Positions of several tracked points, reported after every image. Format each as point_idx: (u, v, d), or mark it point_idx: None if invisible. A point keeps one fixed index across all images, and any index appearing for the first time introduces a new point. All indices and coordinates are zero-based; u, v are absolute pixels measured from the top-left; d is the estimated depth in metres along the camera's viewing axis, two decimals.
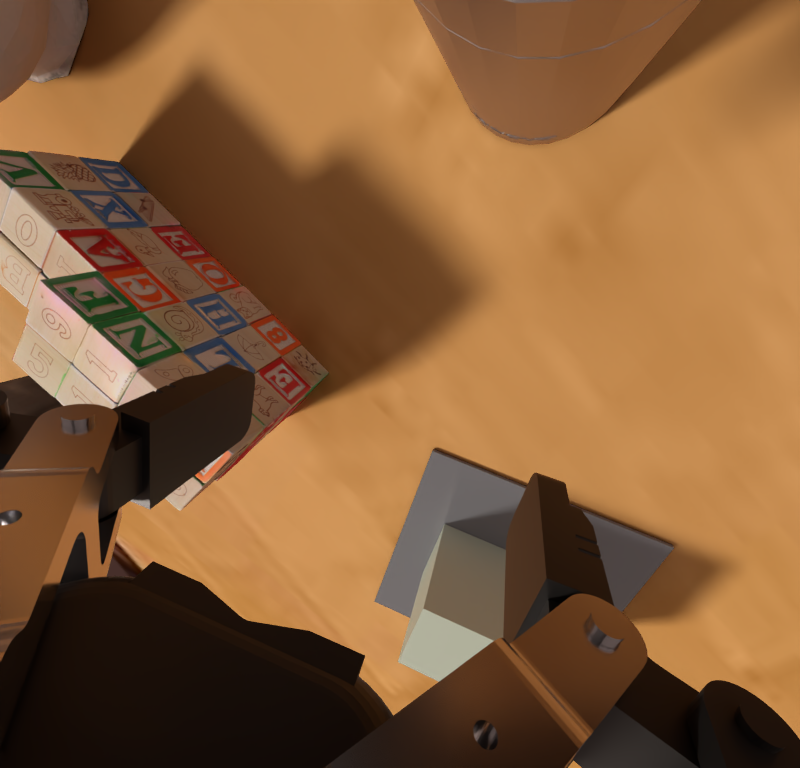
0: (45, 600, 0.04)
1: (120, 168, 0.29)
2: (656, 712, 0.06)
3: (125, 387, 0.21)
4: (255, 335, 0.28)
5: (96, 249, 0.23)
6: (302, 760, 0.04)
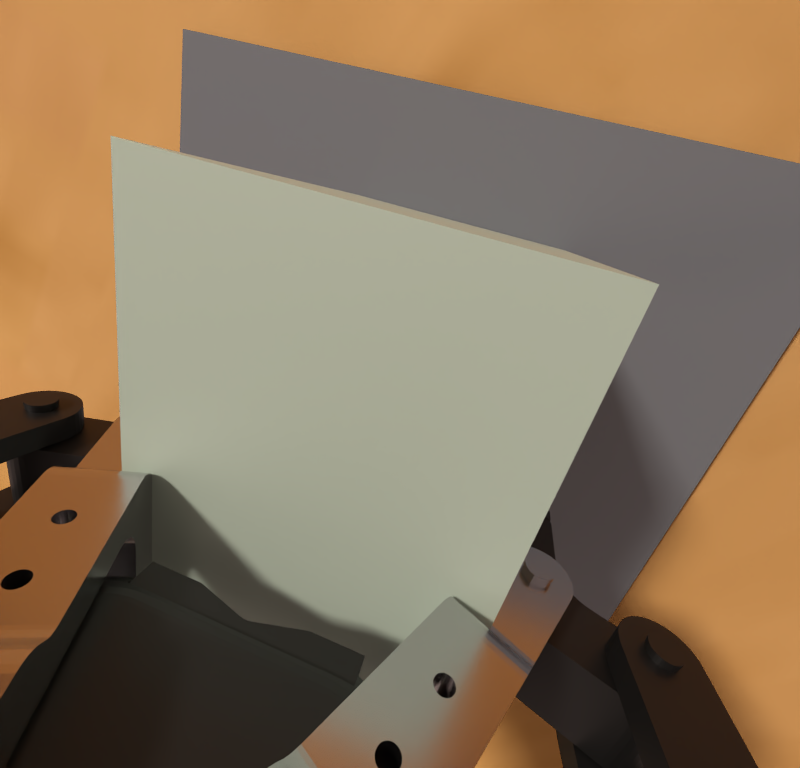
0: (79, 607, 0.04)
1: None
2: (578, 643, 0.06)
3: None
4: None
5: None
6: None
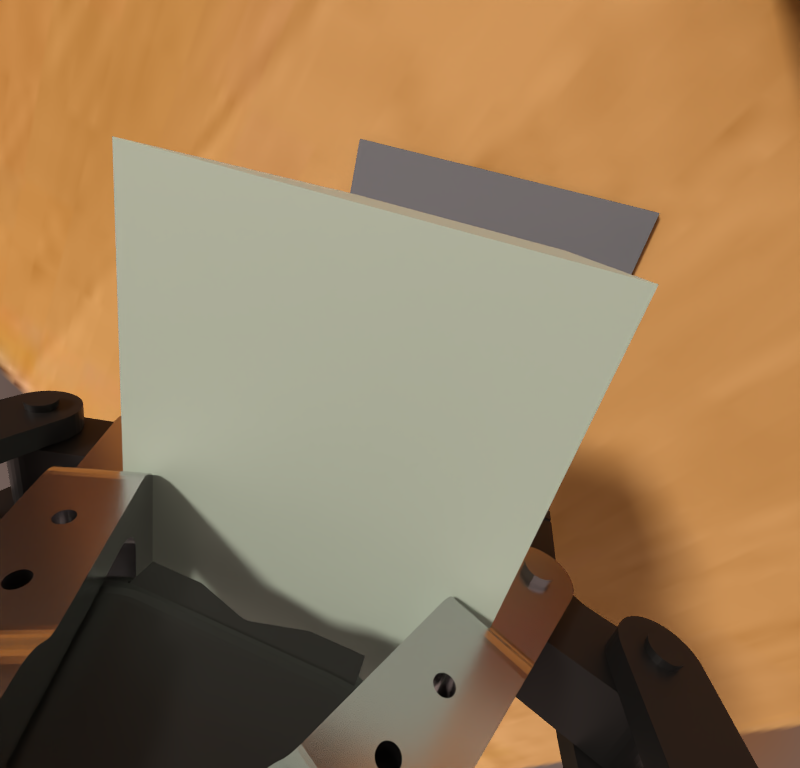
0: (79, 607, 0.04)
1: None
2: (578, 644, 0.06)
3: None
4: None
5: None
6: None
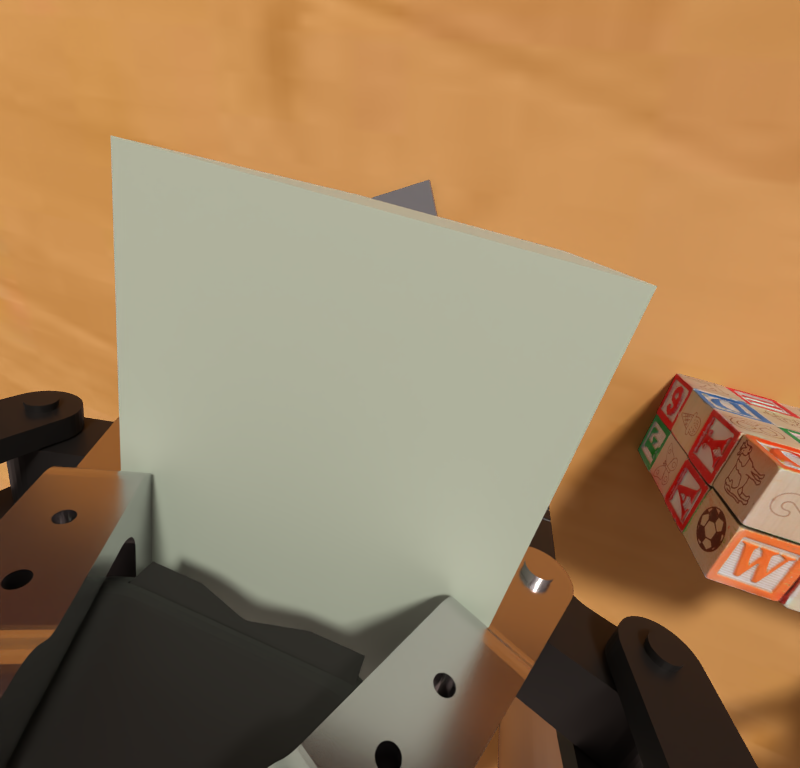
0: (79, 607, 0.04)
1: None
2: (578, 644, 0.06)
3: None
4: None
5: None
6: None
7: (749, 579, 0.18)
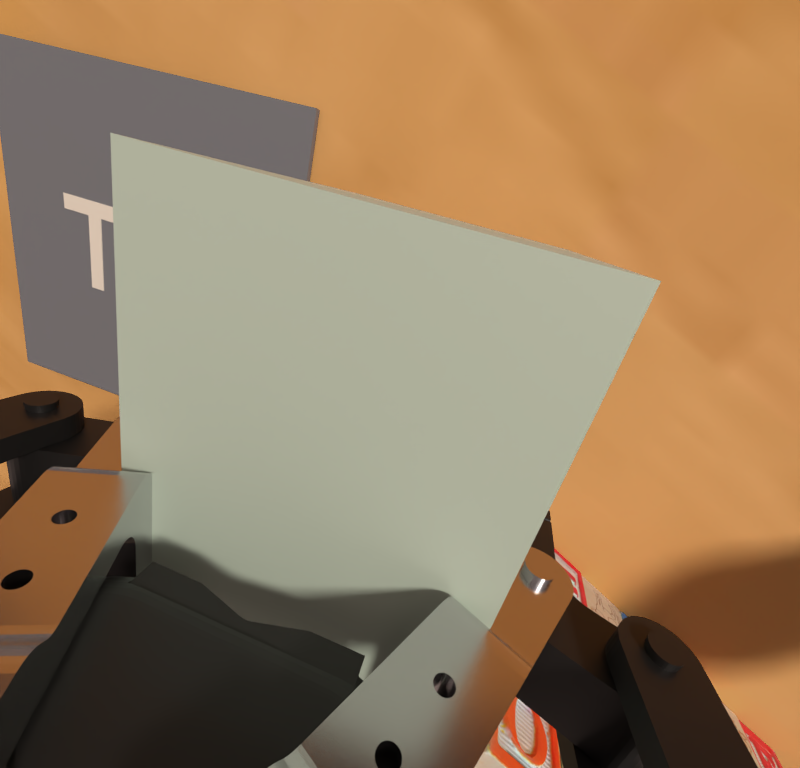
0: (79, 607, 0.04)
1: None
2: (579, 644, 0.06)
3: None
4: None
5: None
6: None
7: None
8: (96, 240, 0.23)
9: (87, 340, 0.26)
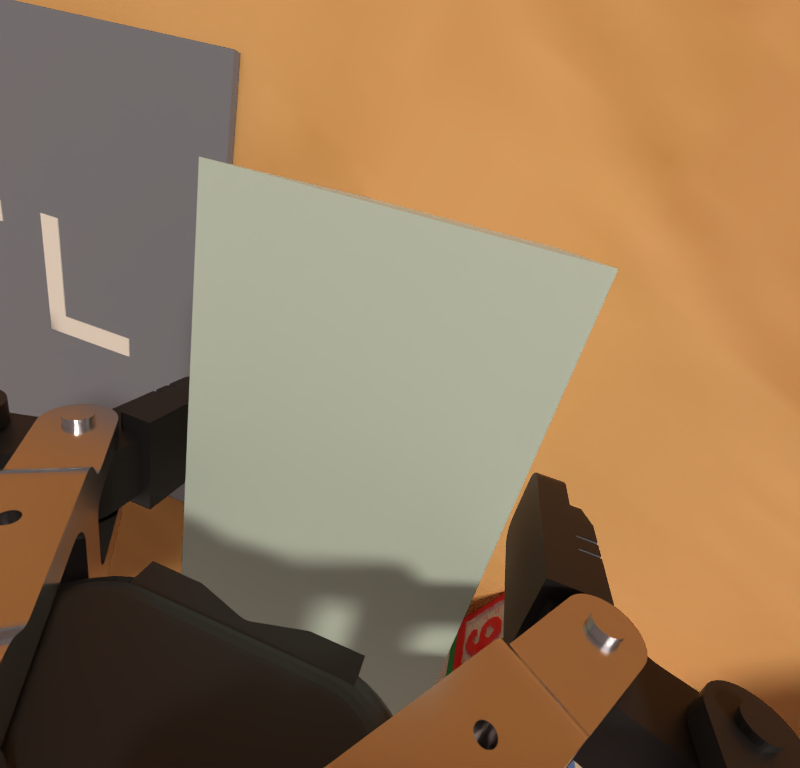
0: (45, 600, 0.04)
1: None
2: (656, 712, 0.06)
3: None
4: None
5: None
6: (302, 760, 0.04)
7: None
8: None
9: None
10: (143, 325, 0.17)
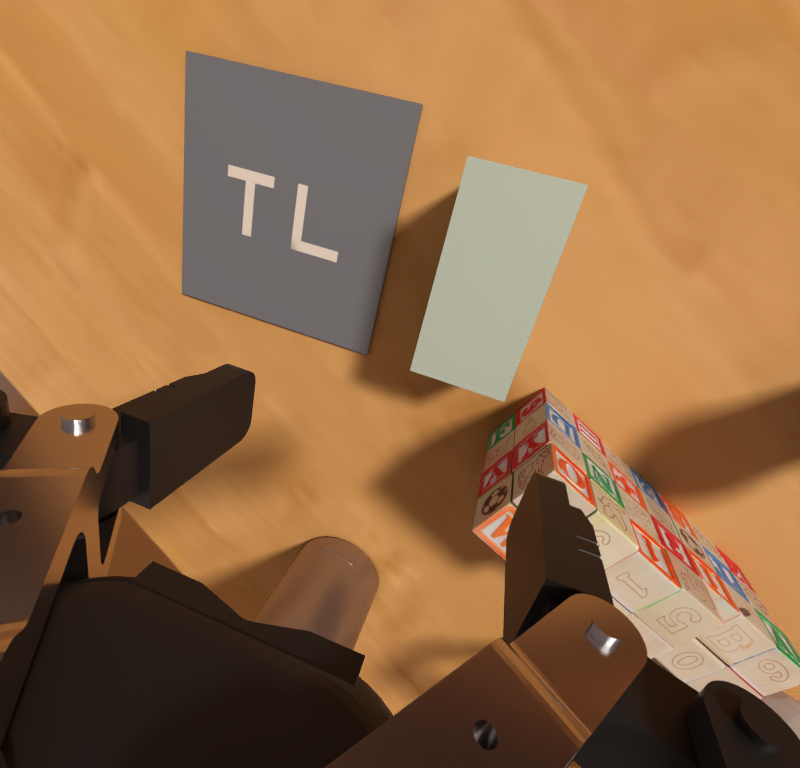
0: (45, 600, 0.04)
1: None
2: (656, 712, 0.06)
3: None
4: None
5: None
6: (302, 760, 0.04)
7: (500, 542, 0.24)
8: (249, 199, 0.32)
9: (232, 275, 0.35)
10: (348, 243, 0.32)
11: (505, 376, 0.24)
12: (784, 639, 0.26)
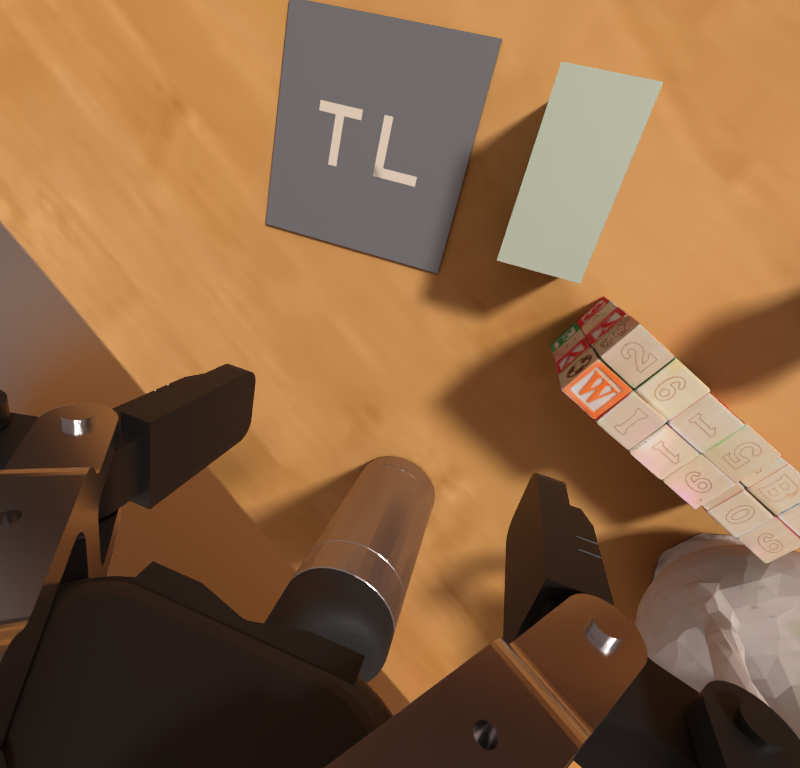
0: (45, 600, 0.04)
1: None
2: (656, 712, 0.06)
3: (649, 437, 0.27)
4: None
5: None
6: (302, 760, 0.04)
7: (586, 399, 0.28)
8: (337, 131, 0.37)
9: (316, 203, 0.39)
10: (427, 168, 0.36)
11: (582, 259, 0.28)
12: None
